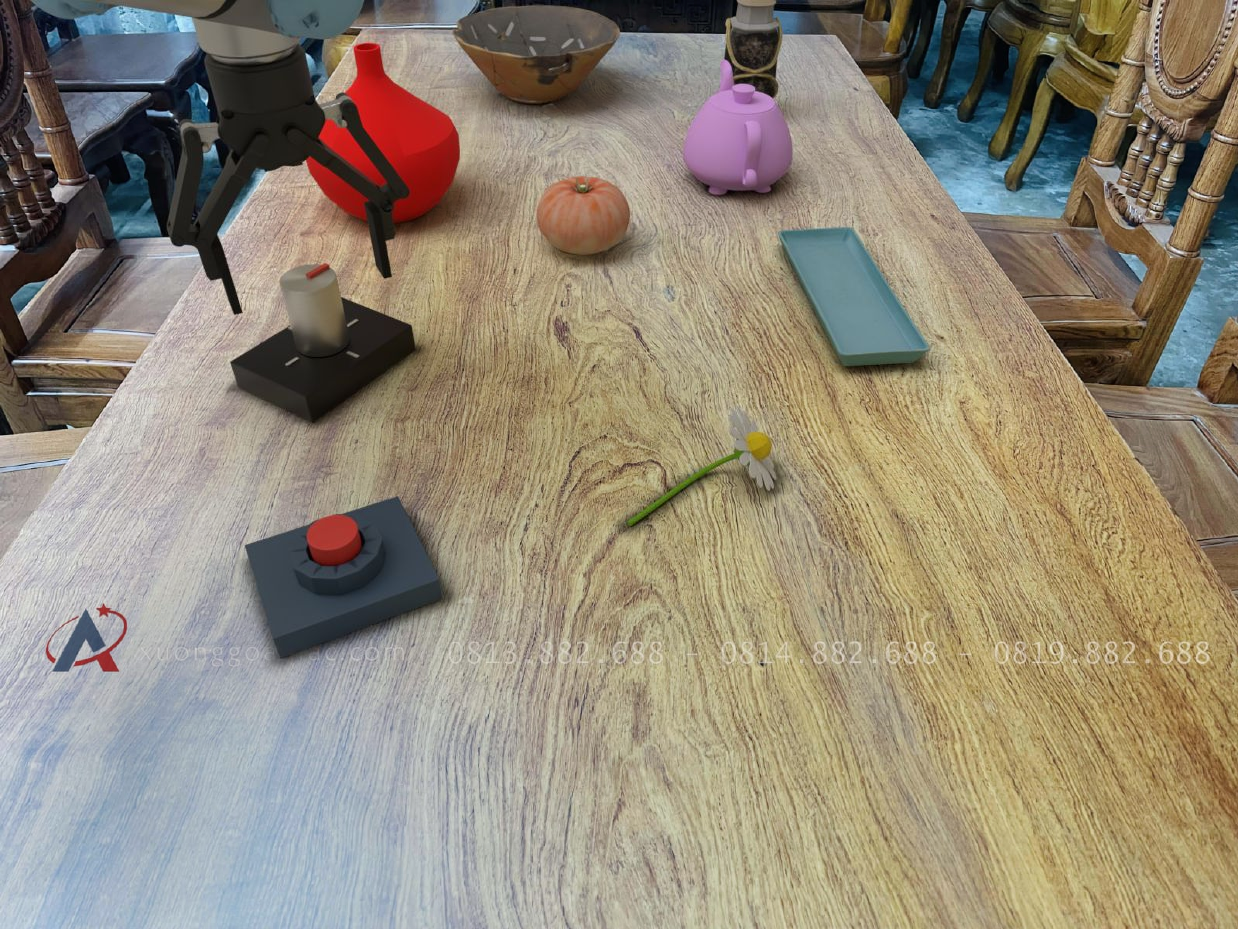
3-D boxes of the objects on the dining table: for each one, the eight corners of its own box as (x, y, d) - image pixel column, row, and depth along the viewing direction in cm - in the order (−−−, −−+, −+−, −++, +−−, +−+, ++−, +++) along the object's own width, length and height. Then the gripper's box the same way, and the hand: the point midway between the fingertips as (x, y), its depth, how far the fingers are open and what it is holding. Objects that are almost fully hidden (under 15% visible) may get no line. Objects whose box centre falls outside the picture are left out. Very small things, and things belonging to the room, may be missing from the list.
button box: (280, 658, 66) (266, 622, 64) (251, 564, 73) (238, 528, 70) (443, 598, 71) (436, 562, 68) (401, 515, 77) (394, 479, 75)
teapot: (668, 148, 132) (672, 58, 124) (767, 144, 134) (777, 55, 126) (694, 213, 118) (701, 116, 110) (805, 208, 119) (820, 112, 111)
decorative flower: (647, 468, 71) (770, 385, 79) (604, 482, 76) (723, 402, 84) (696, 557, 72) (813, 465, 80) (650, 565, 77) (764, 478, 85)
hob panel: (312, 423, 86) (305, 395, 84) (237, 387, 90) (228, 360, 88) (416, 350, 95) (412, 323, 93) (344, 320, 99) (338, 294, 97)
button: (318, 573, 68) (313, 556, 66) (306, 540, 70) (301, 524, 69) (367, 556, 69) (363, 539, 68) (354, 525, 71) (350, 508, 70)
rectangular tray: (774, 245, 112) (776, 226, 110) (849, 242, 112) (853, 222, 111) (836, 375, 92) (840, 354, 91) (926, 370, 93) (932, 349, 91)
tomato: (567, 277, 106) (565, 211, 100) (521, 238, 112) (517, 174, 107) (647, 252, 110) (649, 188, 105) (598, 216, 117) (598, 153, 112)
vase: (454, 242, 112) (434, 76, 99) (299, 239, 112) (260, 74, 99) (475, 175, 125) (460, 22, 113) (337, 173, 126) (307, 20, 113)
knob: (322, 363, 88) (306, 295, 83) (284, 346, 90) (266, 278, 85) (360, 338, 91) (347, 270, 86) (323, 322, 93) (308, 255, 88)
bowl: (638, 115, 141) (639, 46, 135) (474, 132, 136) (467, 61, 129) (594, 60, 159) (594, -4, 153) (448, 73, 154) (441, 7, 148)
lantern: (769, 105, 145) (789, -79, 128) (779, 126, 139) (802, -65, 122) (712, 106, 144) (726, -79, 128) (720, 127, 138) (735, -65, 122)
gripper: (395, 12, 79) (428, 240, 93) (72, 57, 71) (162, 302, 85) (424, 38, 74) (454, 275, 89) (81, 91, 66) (175, 344, 80)
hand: (311, 288), depth 87 cm, fingers open, 13 cm apart
